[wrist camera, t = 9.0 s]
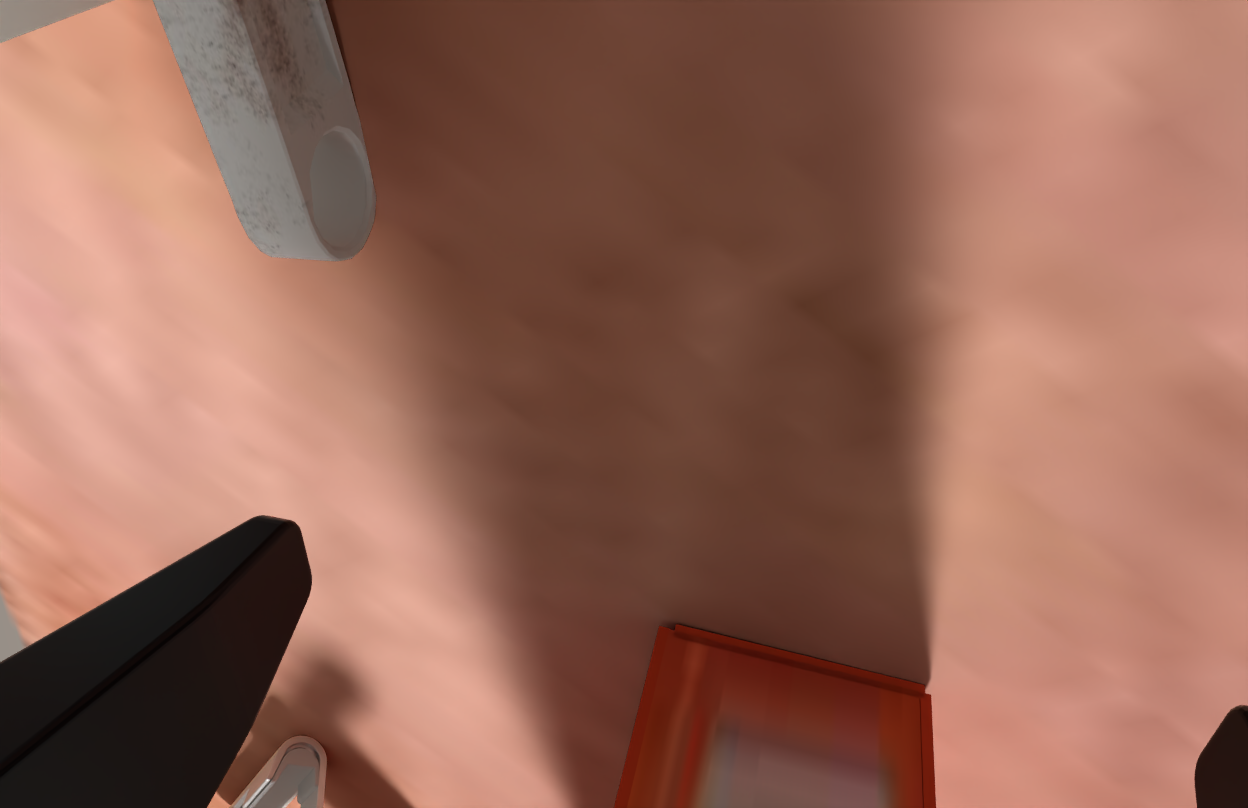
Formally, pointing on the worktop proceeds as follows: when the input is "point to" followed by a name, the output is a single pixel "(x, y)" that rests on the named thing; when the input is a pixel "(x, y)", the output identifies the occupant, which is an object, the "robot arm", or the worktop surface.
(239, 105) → the wrench
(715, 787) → the file binder
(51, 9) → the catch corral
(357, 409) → the worktop surface
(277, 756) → the portable electronic device stand
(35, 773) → the robot arm
